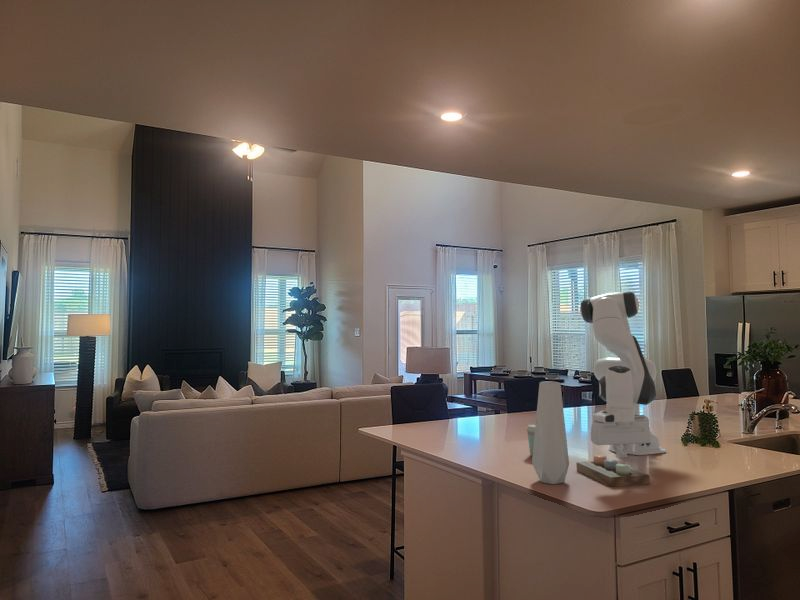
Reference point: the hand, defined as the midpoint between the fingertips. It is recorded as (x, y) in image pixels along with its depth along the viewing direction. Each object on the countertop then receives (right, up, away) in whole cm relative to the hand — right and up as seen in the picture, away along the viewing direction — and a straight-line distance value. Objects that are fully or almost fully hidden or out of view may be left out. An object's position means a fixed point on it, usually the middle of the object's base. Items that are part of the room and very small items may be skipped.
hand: (621, 457), depth 183 cm
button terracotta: (-2, -7, +14) cm, 15 cm away
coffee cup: (-18, -11, +41) cm, 46 cm away
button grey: (-1, -6, +7) cm, 9 cm away
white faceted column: (-22, -9, +1) cm, 24 cm away
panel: (-1, -9, +6) cm, 11 cm away
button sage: (0, -6, 0) cm, 6 cm away
